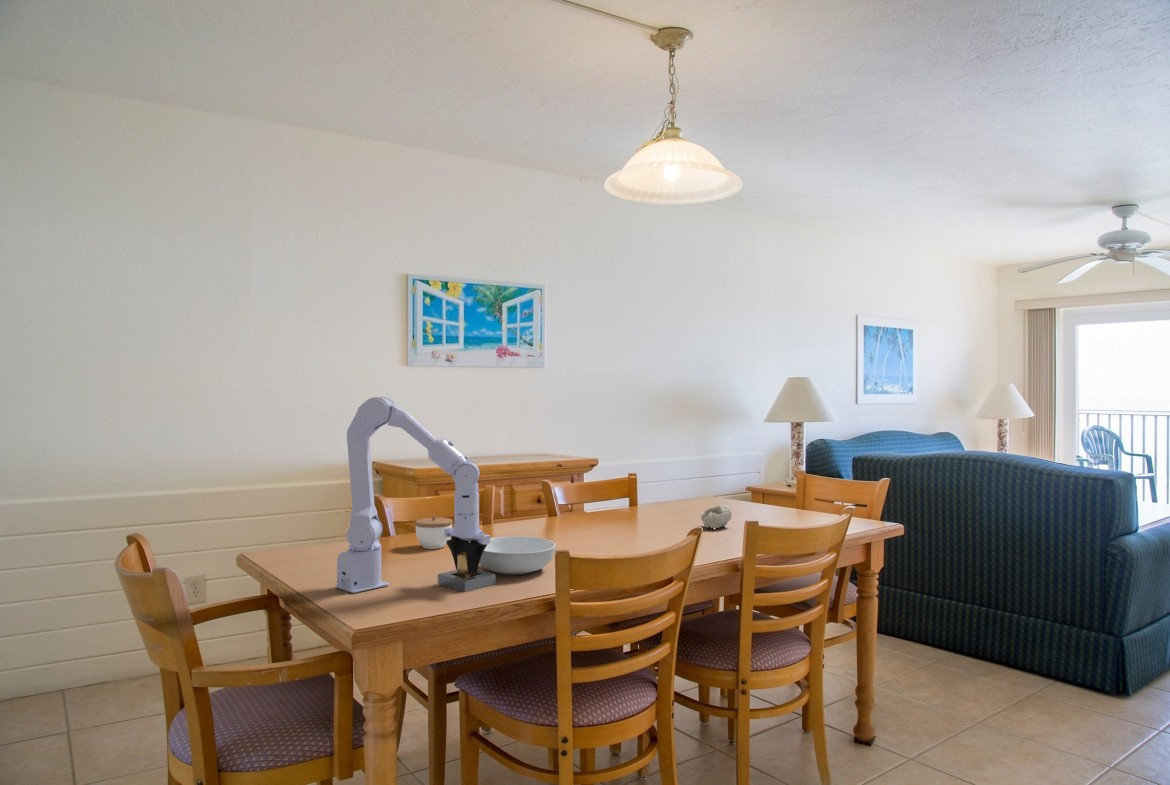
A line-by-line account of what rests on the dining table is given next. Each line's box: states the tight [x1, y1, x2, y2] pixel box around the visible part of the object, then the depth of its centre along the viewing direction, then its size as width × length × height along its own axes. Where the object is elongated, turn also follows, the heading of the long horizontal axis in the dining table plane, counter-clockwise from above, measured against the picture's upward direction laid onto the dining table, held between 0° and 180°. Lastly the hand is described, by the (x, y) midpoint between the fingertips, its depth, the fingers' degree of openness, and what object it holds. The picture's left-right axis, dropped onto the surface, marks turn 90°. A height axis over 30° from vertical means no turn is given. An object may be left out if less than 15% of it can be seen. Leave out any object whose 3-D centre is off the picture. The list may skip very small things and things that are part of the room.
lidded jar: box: [414, 514, 454, 550], centre depth 219 cm, size 11×11×9 cm
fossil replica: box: [700, 503, 733, 529], centre depth 251 cm, size 12×8×10 cm
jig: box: [437, 569, 496, 593], centre depth 176 cm, size 9×10×2 cm
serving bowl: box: [479, 535, 557, 576], centre depth 189 cm, size 21×21×7 cm
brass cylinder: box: [457, 552, 475, 578], centre depth 175 cm, size 4×4×6 cm
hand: (466, 571), depth 176 cm, fingers closed on brass cylinder, 4 cm apart
